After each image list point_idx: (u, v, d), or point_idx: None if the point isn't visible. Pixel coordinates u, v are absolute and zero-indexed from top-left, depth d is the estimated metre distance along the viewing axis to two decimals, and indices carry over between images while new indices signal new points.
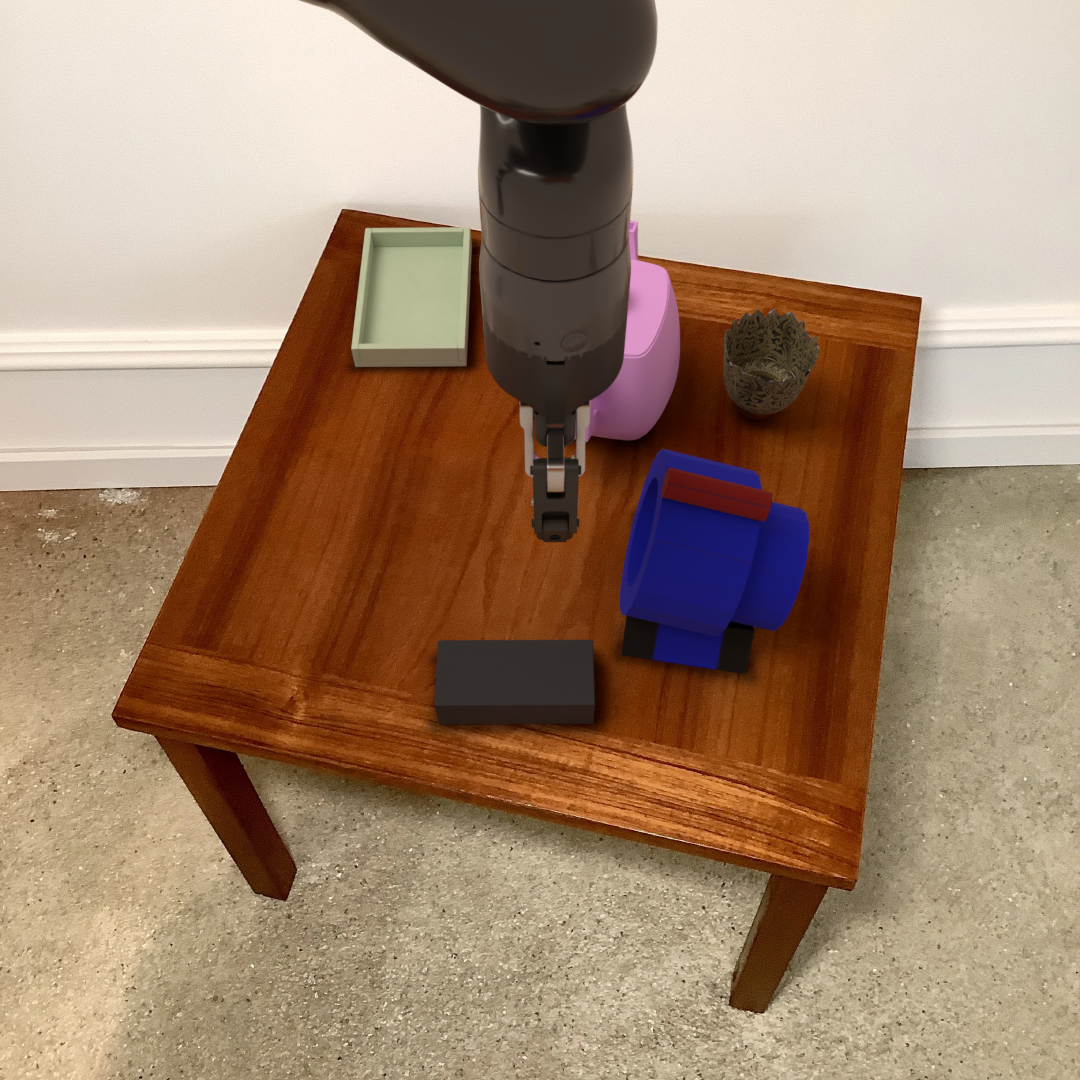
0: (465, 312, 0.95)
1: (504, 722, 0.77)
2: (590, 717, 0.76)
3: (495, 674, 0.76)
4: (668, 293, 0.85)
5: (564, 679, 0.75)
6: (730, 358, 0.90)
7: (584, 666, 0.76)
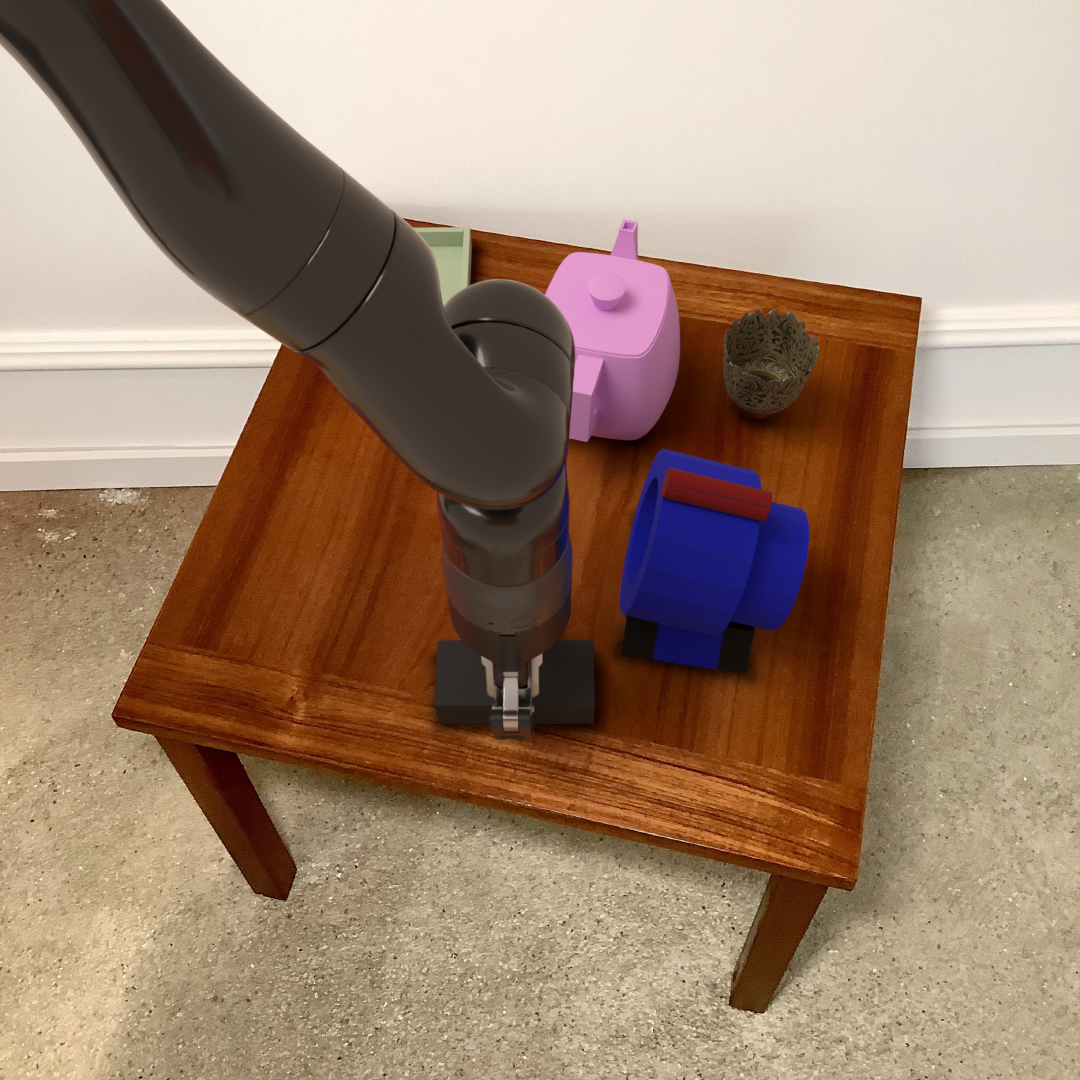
0: None
1: None
2: (590, 717, 0.76)
3: None
4: (668, 293, 0.85)
5: (564, 679, 0.75)
6: (730, 358, 0.90)
7: (584, 666, 0.76)
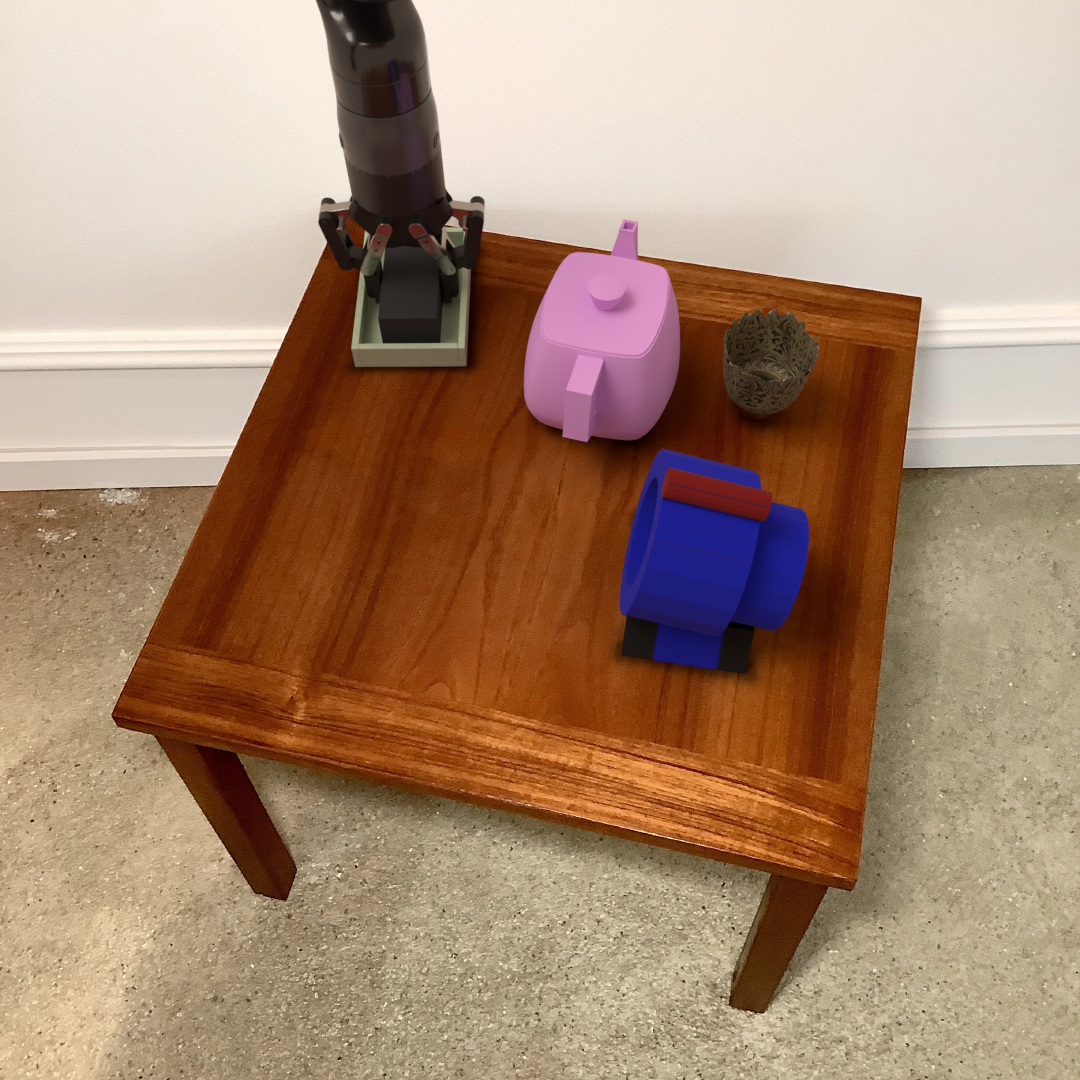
0: (465, 312, 0.95)
1: None
2: (381, 334, 0.94)
3: (409, 260, 0.96)
4: (668, 293, 0.85)
5: (401, 300, 0.93)
6: (730, 358, 0.90)
7: (412, 312, 0.93)
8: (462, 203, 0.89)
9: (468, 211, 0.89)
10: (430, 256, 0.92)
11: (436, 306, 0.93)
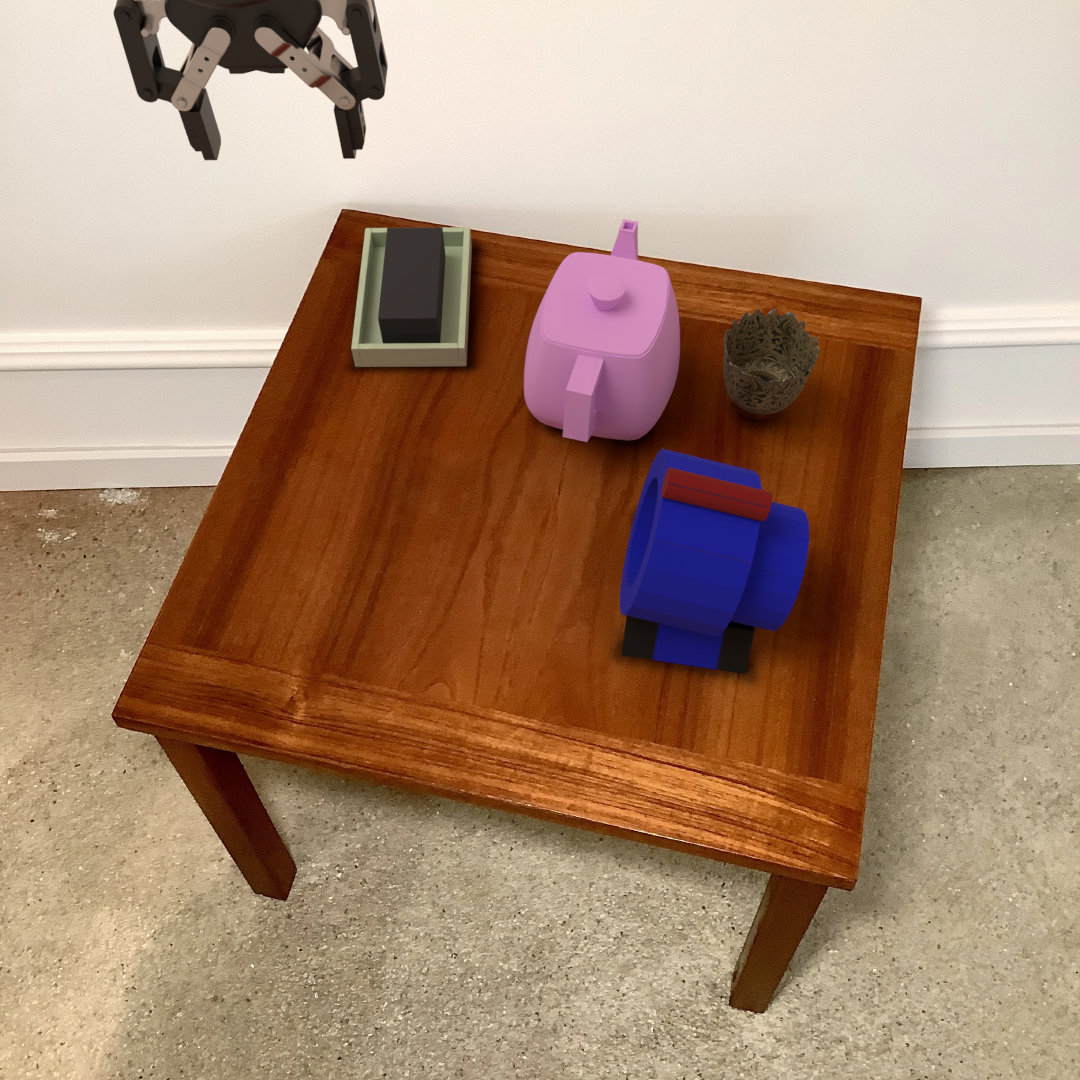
0: (465, 312, 0.95)
1: None
2: (381, 334, 0.94)
3: (409, 260, 0.96)
4: (668, 293, 0.85)
5: (401, 300, 0.93)
6: (730, 358, 0.90)
7: (412, 312, 0.93)
8: None
9: (343, 1, 0.59)
10: (306, 81, 0.61)
11: (436, 306, 0.93)
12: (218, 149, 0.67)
